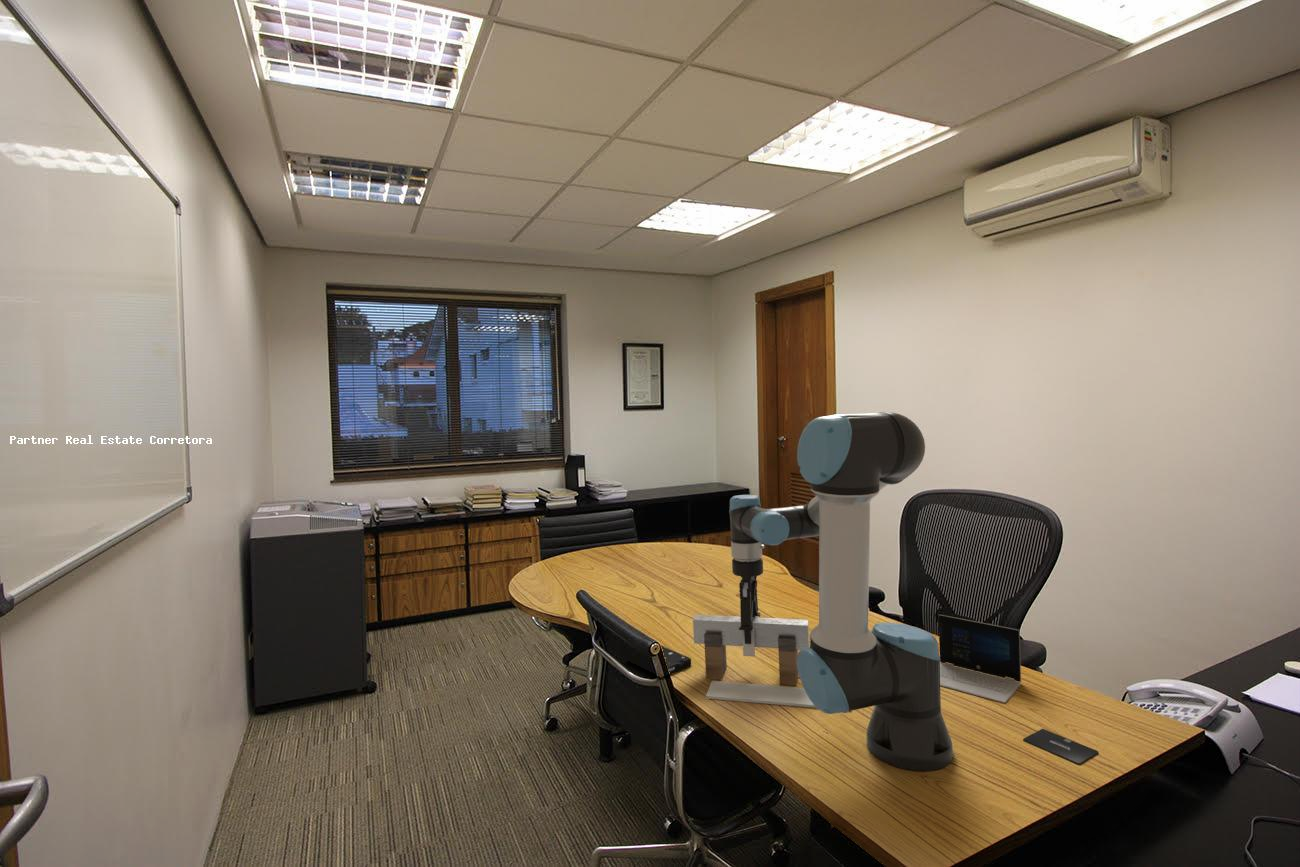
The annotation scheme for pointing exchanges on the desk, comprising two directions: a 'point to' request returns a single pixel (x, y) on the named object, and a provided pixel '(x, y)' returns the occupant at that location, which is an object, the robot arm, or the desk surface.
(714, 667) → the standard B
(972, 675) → the laptop
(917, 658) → the robot arm
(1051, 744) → the solid state drive
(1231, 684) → the desk surface
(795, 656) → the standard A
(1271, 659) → the desk surface
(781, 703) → the mat
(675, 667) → the disk drive
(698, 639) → the rail
